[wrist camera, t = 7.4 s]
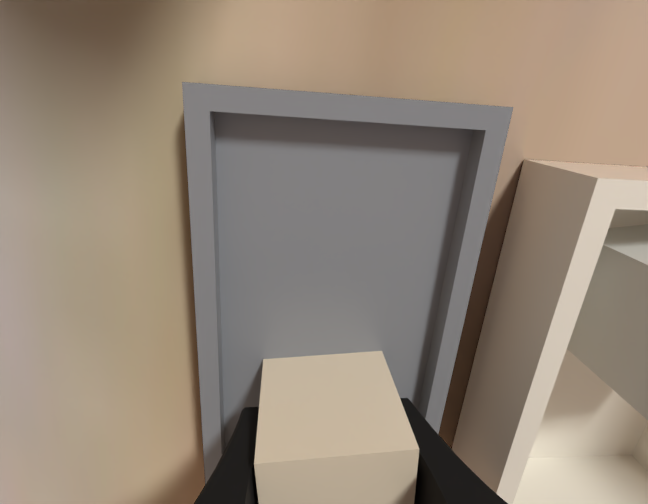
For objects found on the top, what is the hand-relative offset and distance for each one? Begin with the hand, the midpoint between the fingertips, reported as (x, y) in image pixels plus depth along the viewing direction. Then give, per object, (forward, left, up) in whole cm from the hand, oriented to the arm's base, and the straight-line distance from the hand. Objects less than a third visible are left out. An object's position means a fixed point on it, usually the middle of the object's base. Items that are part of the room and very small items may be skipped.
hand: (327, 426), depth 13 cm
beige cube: (0, 0, -1) cm, 1 cm away
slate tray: (0, -3, -2) cm, 4 cm away
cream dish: (-10, -2, -2) cm, 10 cm away
